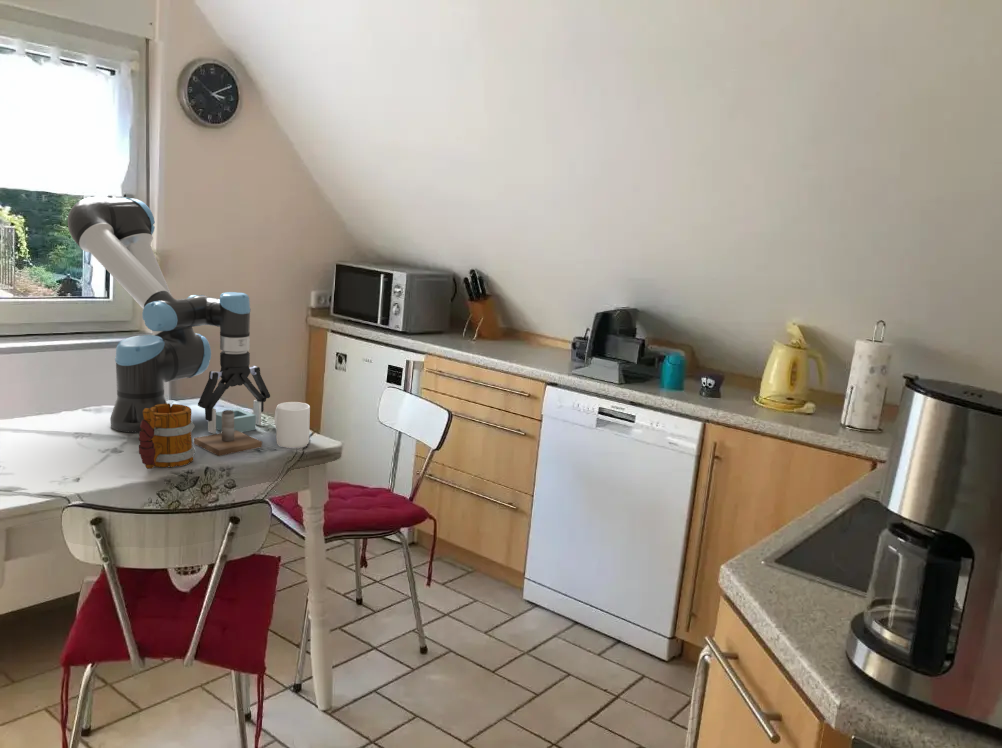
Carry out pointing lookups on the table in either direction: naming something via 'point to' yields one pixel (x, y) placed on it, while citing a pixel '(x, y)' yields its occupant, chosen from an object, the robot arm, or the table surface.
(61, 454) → the table surface
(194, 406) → the table surface
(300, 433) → the cup
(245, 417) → the ring
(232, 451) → the post block
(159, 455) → the mug
